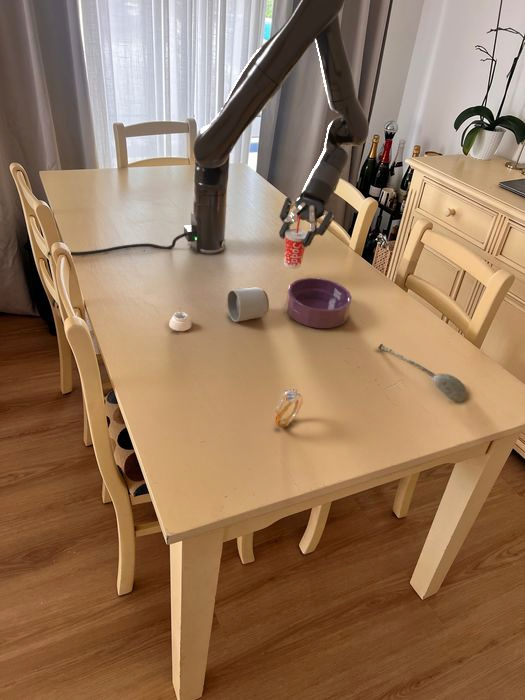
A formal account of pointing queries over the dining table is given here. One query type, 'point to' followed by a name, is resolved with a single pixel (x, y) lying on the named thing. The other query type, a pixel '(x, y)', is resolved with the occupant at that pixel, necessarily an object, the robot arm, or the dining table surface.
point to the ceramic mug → (247, 303)
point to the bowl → (318, 302)
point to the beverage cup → (294, 247)
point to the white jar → (180, 322)
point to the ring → (289, 396)
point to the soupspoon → (439, 380)
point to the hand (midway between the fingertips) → (293, 241)
